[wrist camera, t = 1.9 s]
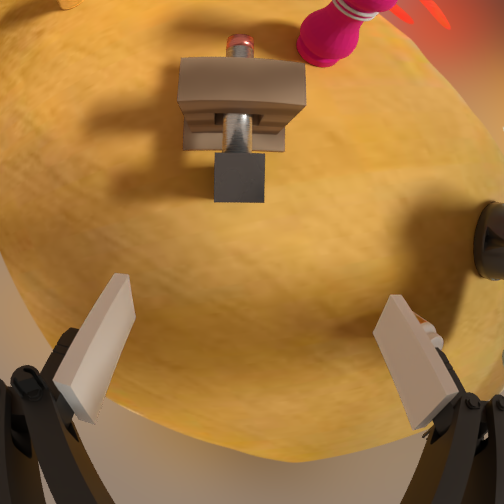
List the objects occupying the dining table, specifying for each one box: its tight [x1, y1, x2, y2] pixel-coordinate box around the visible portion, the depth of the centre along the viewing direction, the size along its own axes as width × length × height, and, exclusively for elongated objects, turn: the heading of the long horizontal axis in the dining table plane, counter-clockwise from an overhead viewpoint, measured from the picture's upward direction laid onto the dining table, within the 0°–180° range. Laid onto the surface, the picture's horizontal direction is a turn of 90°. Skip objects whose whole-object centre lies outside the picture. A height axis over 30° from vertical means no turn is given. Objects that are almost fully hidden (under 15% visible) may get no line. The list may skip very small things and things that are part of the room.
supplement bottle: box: [412, 311, 443, 350], centre depth 35 cm, size 5×5×10 cm
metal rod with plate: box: [214, 34, 265, 203], centre depth 26 cm, size 18×4×11 cm, turn 179°
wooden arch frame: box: [177, 57, 306, 152], centre depth 25 cm, size 8×12×13 cm, turn 89°
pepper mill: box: [296, 0, 397, 67], centre depth 21 cm, size 7×7×20 cm
